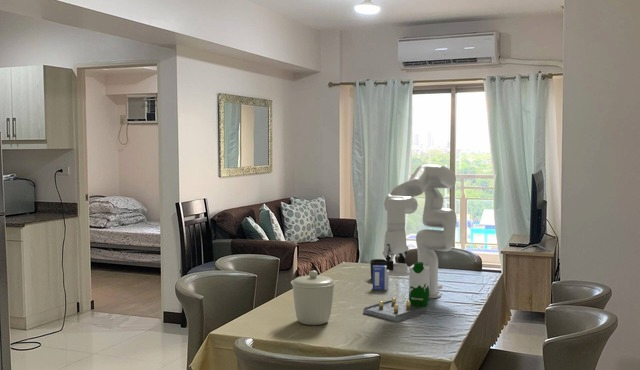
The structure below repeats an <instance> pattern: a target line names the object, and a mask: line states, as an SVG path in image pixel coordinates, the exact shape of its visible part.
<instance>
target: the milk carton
mask: <svg viewBox="0 0 640 370" xmlns="http://www.w3.org/2000/svg"><path fill="white" fill-rule="evenodd" d="M408 270H409V271H410V275H408V301H411V305H415V306H420V307H423V306H424V307H425V308H426V309H427V307H428V306H429V301H430V298H429V288H430V271H429V266H425V265H423V263H422V262H418V261H415V262H413V264H412V265H410V267H409V269H408Z"/></svg>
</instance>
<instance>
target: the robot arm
mask: <svg viewBox="0 0 640 370" xmlns="http://www.w3.org/2000/svg"><path fill="white" fill-rule="evenodd" d="M456 182H457V176H456V174H455V171H453V170H452V169H450V168H448V167H446V166H444V165H441V164H421V165H419V166H417V168H416V169H415V170H414V172H413V173H412V174H411V177H409V179H408V180H407V181H405V182H402V183H401V184H399V185H397V186H394V187H393V188H392V189H391V190H390V191H389V192H388V193H387V195H386V197H385V198H384V199H385V200H384V202H383V206H384V209H385V211H386V230H385V236H384V244H383V245H384V247H383V251H382V255H383V257H384V258H385V259H384V260H386V261H387V270H393V263H394V260H393V259H394V256H395V255H398V258H397V261H398V262H397V263H404V264H406V258H407V256H406V255H408V250H409V246H408V245H407V233H406V215H407V214H408V215H409V214H410V215H411V214H413V213H415V212H416V211H417V209H418V206H419V205H418V200H417V199H416V198H415V197H417V196H418V197H419V196H421V195H422V194H424V199H425V200H424V207H423V213H422V224H423V225H424V226H425V227H428V228H433V229H428V228H426V229H421V230H418V231H417V233H416V235H415V241H416V242H415V243H416V250H417V262H422V263H423V265H425V266H429V271H430V288H429V299H438V298H440V297H442V293H441V292H440V290H441V289H443V287H444V286H443V285H442V284H439V258H438V255H437V254H436V251H439V252H449V251H451V250H452V248H453V246H454V242H455V241H454V240H455V235H456V229H457V228H456V227H457V213H456V211H455V210H454V209H452V208H448V207H447V208H446V207H443V204H444V196H443V194H442V193H441V191H440V190H439V189H452V188H453V187H454V186H455V185H456ZM435 228H437V229H435ZM441 229H443V230H441ZM438 284H439V285H438Z"/></svg>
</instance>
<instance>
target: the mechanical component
mask: <svg viewBox="0 0 640 370" xmlns="http://www.w3.org/2000/svg"><path fill="white" fill-rule="evenodd" d="M387 275H389V276H393V277H407V276H408V277H409V275H410V271H409V269H408V264H407V263H405V264H404V263H398V262H393V270H387Z"/></svg>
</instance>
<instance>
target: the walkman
mask: <svg viewBox="0 0 640 370" xmlns="http://www.w3.org/2000/svg"><path fill="white" fill-rule="evenodd" d="M389 277H390V275H387V266H373V280H372V290H373V291H389Z"/></svg>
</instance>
